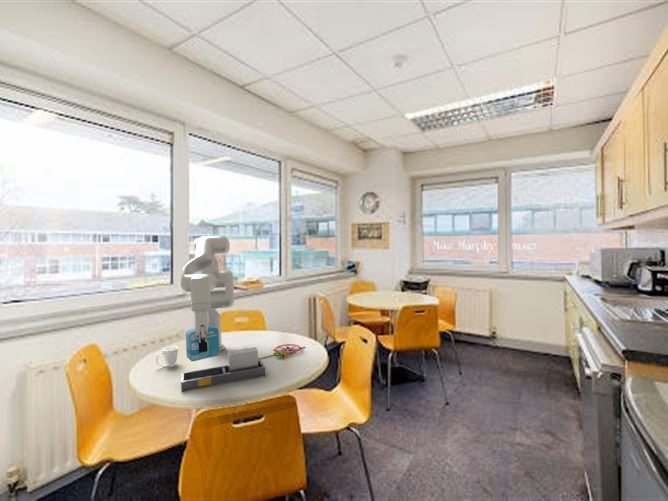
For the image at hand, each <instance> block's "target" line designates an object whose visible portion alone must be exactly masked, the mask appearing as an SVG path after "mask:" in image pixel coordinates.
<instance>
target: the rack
mask: <svg viewBox="0 0 668 501" xmlns="http://www.w3.org/2000/svg"><path fill="white" fill-rule="evenodd" d="M258 358H259V350H258V348H257V347H256V346H253V347H249V348H248V347H246V348H240V349H234V350H228V351H227V364H226V365H222V366H216V367H215V366H213V367H209V368H205V369H204V368H203V369H197V370H191V371H185V372H181V373H180V382H181V383H180V384H181V385H180V386H181V388H180V389H181V392H188V391H192V390H193V391H194V390H198V389H203V388H209V387H214V386H219V385H225V384H231V383H236V382H240V381H246V380H253V379H257V378H262V377H266V375H267V373H266V366H265V364H264V363H263V362H262V359H260V360H258Z"/></svg>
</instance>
